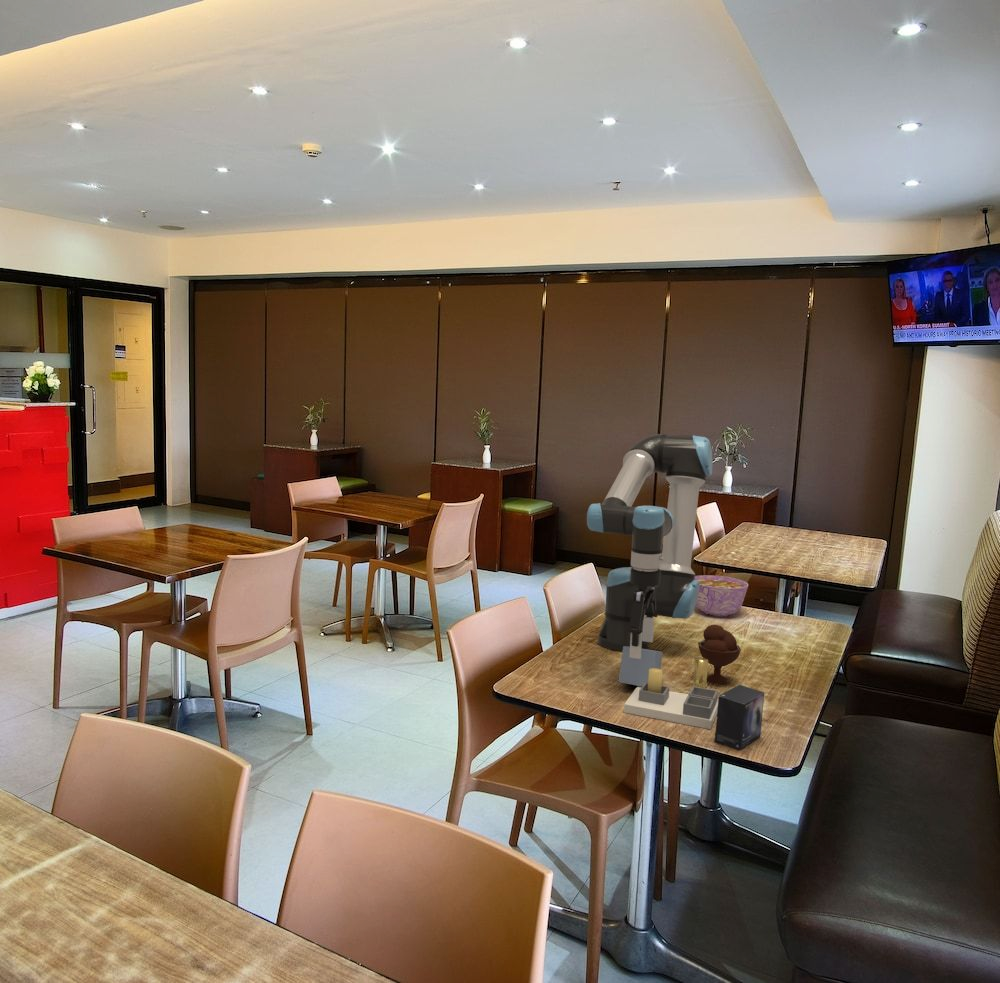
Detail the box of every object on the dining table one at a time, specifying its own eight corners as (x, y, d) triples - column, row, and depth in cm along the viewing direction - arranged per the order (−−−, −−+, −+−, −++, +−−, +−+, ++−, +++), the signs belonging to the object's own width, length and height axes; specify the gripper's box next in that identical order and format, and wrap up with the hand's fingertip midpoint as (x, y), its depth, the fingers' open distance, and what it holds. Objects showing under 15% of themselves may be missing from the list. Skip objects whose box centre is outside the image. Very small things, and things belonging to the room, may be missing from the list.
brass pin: (691, 699, 195) (694, 660, 194) (693, 695, 198) (696, 656, 197) (704, 701, 194) (707, 662, 193) (706, 697, 197) (709, 658, 196)
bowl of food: (689, 618, 269) (691, 585, 268) (685, 604, 289) (687, 573, 288) (750, 623, 266) (752, 590, 265) (742, 608, 286) (744, 577, 284)
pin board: (623, 712, 185) (625, 675, 184) (637, 693, 198) (639, 658, 197) (710, 729, 177) (713, 690, 176) (719, 708, 190) (721, 672, 189)
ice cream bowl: (716, 690, 202) (720, 633, 200) (687, 676, 212) (690, 621, 210) (746, 684, 207) (751, 629, 205) (717, 671, 217) (720, 618, 215)
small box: (741, 751, 166) (745, 703, 165) (713, 741, 171) (716, 695, 170) (762, 737, 174) (766, 691, 173) (734, 728, 179) (738, 683, 177)
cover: (618, 682, 198) (623, 646, 200) (626, 681, 206) (630, 646, 207) (651, 688, 195) (656, 651, 196) (658, 687, 203) (662, 651, 204)
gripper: (649, 581, 184) (644, 667, 187) (670, 559, 207) (666, 637, 210) (618, 577, 187) (614, 662, 190) (642, 556, 210) (638, 633, 213)
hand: (641, 649), depth 200 cm, fingers open, 13 cm apart
